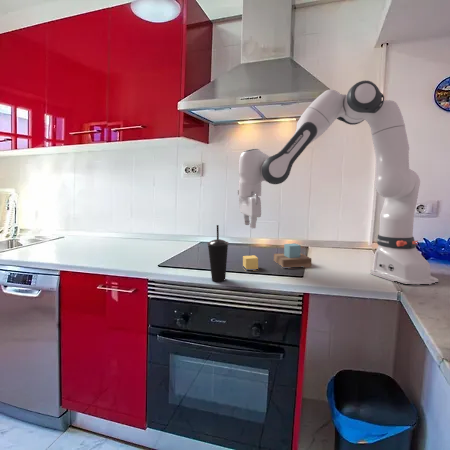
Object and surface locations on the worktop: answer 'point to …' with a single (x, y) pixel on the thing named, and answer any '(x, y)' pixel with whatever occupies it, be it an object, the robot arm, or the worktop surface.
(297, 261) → the walnut base
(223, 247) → the drinking cup
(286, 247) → the teal cube
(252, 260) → the mustard cube
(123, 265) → the worktop surface
